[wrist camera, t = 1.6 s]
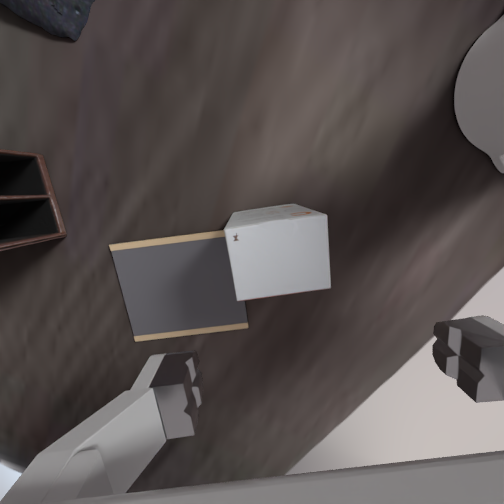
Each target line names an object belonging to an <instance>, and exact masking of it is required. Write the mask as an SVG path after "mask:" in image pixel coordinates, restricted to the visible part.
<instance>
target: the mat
mask: <svg viewBox="0 0 504 504" xmlns="http://www.w3.org/2000/svg"><path fill="white" fill-rule="evenodd" d="M109 246H110V250H111V252H112V256H113V260H114V263H115V267H116V271H117V274H118V278H119V282H120V286H121V289H122V293H123V297H124V300H125V304H126V308H127V311H128V315H129V319H130V323H131V326H132V330H133V334H134V339H135V342H137V341H145V340H153V339H162V338H170V337H178V336H187V335H195V334H203V333H212V332H220V331H228V330H236V329H245V328H248V320H247V313H246V306H245V300H244V301H237V298H236V292H235V286H234V281H233V275H232V270H231V264H230V259H229V254H228V249H227V243H226V238H225V233H224V230H219V231H211V232H203V233H195V234H187V235H179V236H172V237H164V238H156V239H148V240H140V241H132V242H124V243H116V244H110V245H109Z"/></svg>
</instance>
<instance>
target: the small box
mask: <svg viewBox="0 0 504 504" xmlns="http://www.w3.org/2000/svg"><path fill="white" fill-rule="evenodd" d="M224 233H225V238H226V243H227V249H228V254H229V259H230V264H231V270H232V275H233V281H234V286H235V292H236V298H237V301H244V300H251V299H258V298H266V297H273V296H279V295H287V294H295V293H301V292H308V291H315V290H322V289H330V288H331V279H330V259H329V240H328V220H327V215H326V214H323V213H320V212H317V211H314V210H312V209H309V208H306V207H303V206H300V205H297V204H286V205H279V206H272V207H265V208H258V209H252V210H245V211H239V212H234V213H233V214H232V216H231V217H230V219H229V221H228V223H227V225H226V226H225V228H224Z"/></svg>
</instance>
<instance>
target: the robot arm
mask: <svg viewBox="0 0 504 504" xmlns="http://www.w3.org/2000/svg"><path fill="white" fill-rule="evenodd" d="M454 107H455V114H456V118H457V121H458V124H459V126H460V128H461V130H462V132H463V134H464V135H465V137H466V138H467V139H468V140H469V141H470V142H471V143H472V144H473V145H474V146H476V147H477V148H479V149H481V150H482V151H484V152H485V153H487V154H488V155H489V156H490V157H491V159H492V161H493V163H494V165H495V166H496V168H497V169H498V170H499V171H500V172H501V173H504V15H503V16H502V17H501V18H500V19H499V20H498V21H497V22H496V23H494V24H493V25H492V26H491V27H490V28H488V29H487V30H486V31H485V32H484V33H483V34H482V35H481V36H480V37H479V38H478V40H477V41H476V42H475V43H474V45H473V46H472V47H471V49H470V50H469V52H468V54H467V55H466V57H465V59H464V61H463V63H462V65H461V68H460V71H459V73H458V77H457V81H456V86H455V93H454ZM433 334H434V335H435V336H436V338H437V340H436V342H435V343H434V344H433V357H434V359H435V362H436V364H437V365H438V367H439V368H440V370H441V371H442V372H444V373H445V374H446V375H447V376H450V377H452V378H454V379H456V380H457V386H458V387H460V388H461V389H462V390H463V391H464V392H465V393H466V394H467V395H468V396H469V397H470V398H472V399H473V400H474V401H475V402H476V403H478V402H490V401H502V400H504V324H502V323H500V322H498V321H496V320H494V319H492V318H490V317H488V316H476V317H469V318H465V319H458V320H450V321H442V322H436V324H435V326H434V332H433ZM198 365H199V358H198V353H197V352H196V351H186V352H176V353H167V354H166V353H165V354H157V355H152V356H150V357H149V359H148V361H147V362H146V364H145V366H144V367H143V369H142V371H141V372H140V374H139V376H138V378H137V379H136V381H135V383H134V384H133V386H132V388H131V389H130V390H129V391H124V392H123V393H122V394H120V395H119V396H118V397H116V398H115V399H113V400H112V401H111V402H109V403H108V404H107V405H105V406H104V407H102V408H101V409H100V410H98V411H97V412H95V413H94V414H93V415H91V416H90V417H89V418H87V419H86V420H84V421H83V422H82V423H80V424H79V425H78V426H76V427H75V428H73V429H72V430H71V431H69V432H68V433H67V434H65V435H64V436H62V437H61V438H60V439H58V440H57V441H55V442H54V443H53V444H51V445H50V446H49V447H47V448H46V449H44V450H43V451H42V452H40V453H39V454H38V455H37V456H36V457H35V458H34V460H33V461H32V462H31V463H30V465H29V466H28V467H27V468H26V470H25V471H24V472H23V474H22V475H21V476H20V477H19V479H18V480H17V481H16V482H15V484H14V485H13V486H12V487H11V489H10V490H9V491H8V492H7V494H6V495H5V496H4V498H3V499H2V500H1V501H0V504H504V451H495V452H486V453H477V454H469V455H459V456H451V457H442V458H433V459H424V460H415V461H406V462H398V463H389V464H380V465H372V466H363V467H354V468H345V469H338V470H337V469H336V470H327V471H319V472H310V473H302V474H292V475H283V476H275V477H266V478H257V479H248V480H239V481H230V482H222V483H213V484H204V485H195V486H186V487H178V488H169V489H160V490H151V491H142V492H133V493H126V491H127V490H128V489H129V488H130V486H131V485H132V484H133V483H134V481H135V480H136V479H137V478H138V476H139V475H140V474H141V473H142V471H143V470H144V469H145V467H146V466H147V465H148V464H149V462H150V461H151V460H152V459H153V457H154V456H155V455H156V454H157V452H158V451H159V450H160V448H161V447H162V446H163V445H164V443H165V442H166V439H172V438H179V437H185V436H192V435H195V431H196V427H197V422H198V417H199V413H198V407H199V406H200V404H201V403H202V398H203V377H202V373H201V372H200V371H199V370H198V369H197V368H198Z"/></svg>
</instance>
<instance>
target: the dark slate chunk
mask: <svg viewBox="0 0 504 504" xmlns="http://www.w3.org/2000/svg"><path fill="white" fill-rule="evenodd" d="M94 1H95V0H0V3H1V4H3V5H5V6H6V7H8V8H9V9H10V10H11V11H13V12H14V13H16V14H17V15H19V16H20V17H22V18H23V19H25V20H27V21H29V22H31V23H33V24H35V25H37V26H40V27H43V29H44V30H46V31H47V32H49V33H50V34H53V35H57V36H59V37H68V36H69V37H70V38H72V39H73V40H75V41H76V40H77V39H78V37H79V36H80V34H81V30H82V29H83V28H84V26H85V25H86V23H87V20H88V16H89V12H90V7H91V5H92V3H93V2H94Z"/></svg>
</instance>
